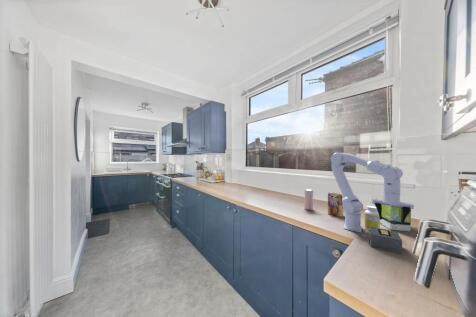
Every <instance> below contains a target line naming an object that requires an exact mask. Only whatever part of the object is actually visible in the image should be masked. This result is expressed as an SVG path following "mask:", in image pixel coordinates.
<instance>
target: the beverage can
mask: <svg viewBox="0 0 476 317" xmlns="http://www.w3.org/2000/svg"><path fill="white" fill-rule="evenodd" d="M304 209H305V210H306V211H312V210H313V209H314V190H313V189H309V188H306V189H305V190H304Z"/></svg>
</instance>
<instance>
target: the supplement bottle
mask: <svg viewBox="0 0 476 317" xmlns="http://www.w3.org/2000/svg"><path fill="white" fill-rule="evenodd" d="M366 209H367V210H365V211H364V228H365V230H367V231H370V226H371V227H376V228H381V223H380V219H379V213H378V212H377V208H376V207H375V205H366Z"/></svg>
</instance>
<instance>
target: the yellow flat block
mask: <svg viewBox="0 0 476 317" xmlns="http://www.w3.org/2000/svg"><path fill="white" fill-rule="evenodd" d="M380 235H385V236H389V234H388V232H387V231H385V230H380Z"/></svg>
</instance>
